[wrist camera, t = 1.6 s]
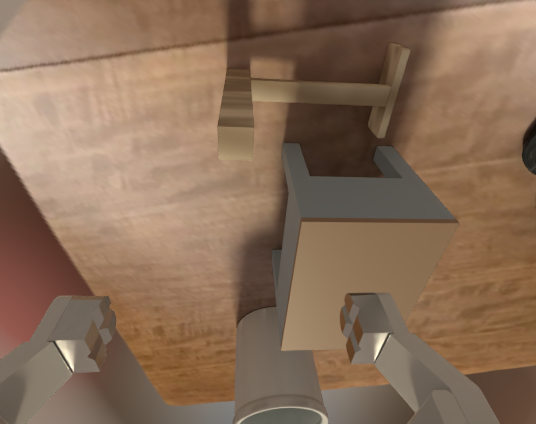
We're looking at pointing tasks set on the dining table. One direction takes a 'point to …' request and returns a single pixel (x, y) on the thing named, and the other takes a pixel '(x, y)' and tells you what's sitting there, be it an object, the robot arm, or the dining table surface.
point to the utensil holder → (273, 376)
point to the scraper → (303, 101)
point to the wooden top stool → (353, 245)
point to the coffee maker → (530, 153)
